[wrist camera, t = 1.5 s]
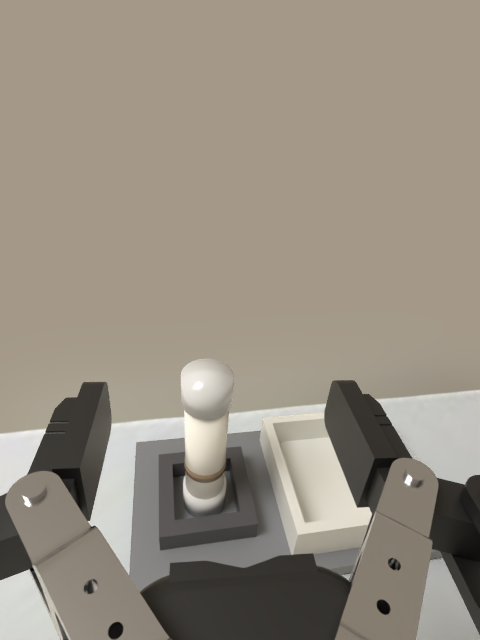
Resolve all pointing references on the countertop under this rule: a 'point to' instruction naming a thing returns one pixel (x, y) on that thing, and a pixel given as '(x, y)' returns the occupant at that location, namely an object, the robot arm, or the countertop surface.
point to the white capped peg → (205, 434)
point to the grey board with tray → (249, 503)
